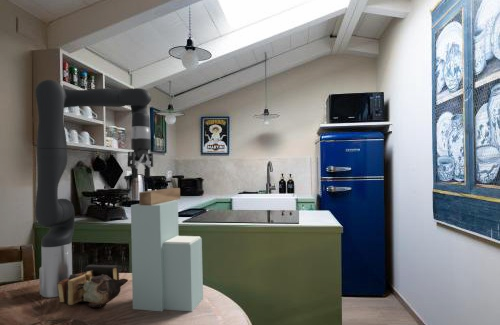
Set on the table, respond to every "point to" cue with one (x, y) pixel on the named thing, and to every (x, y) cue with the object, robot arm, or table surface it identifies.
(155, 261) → the stand
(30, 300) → the table surface
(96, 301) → the bookend
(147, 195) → the walnut bar
